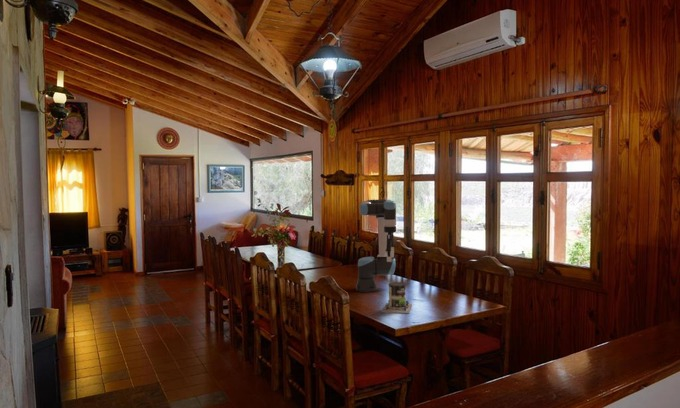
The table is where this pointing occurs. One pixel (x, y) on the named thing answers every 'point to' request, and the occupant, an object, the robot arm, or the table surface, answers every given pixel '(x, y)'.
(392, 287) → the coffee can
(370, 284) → the robot arm
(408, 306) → the pin plate
